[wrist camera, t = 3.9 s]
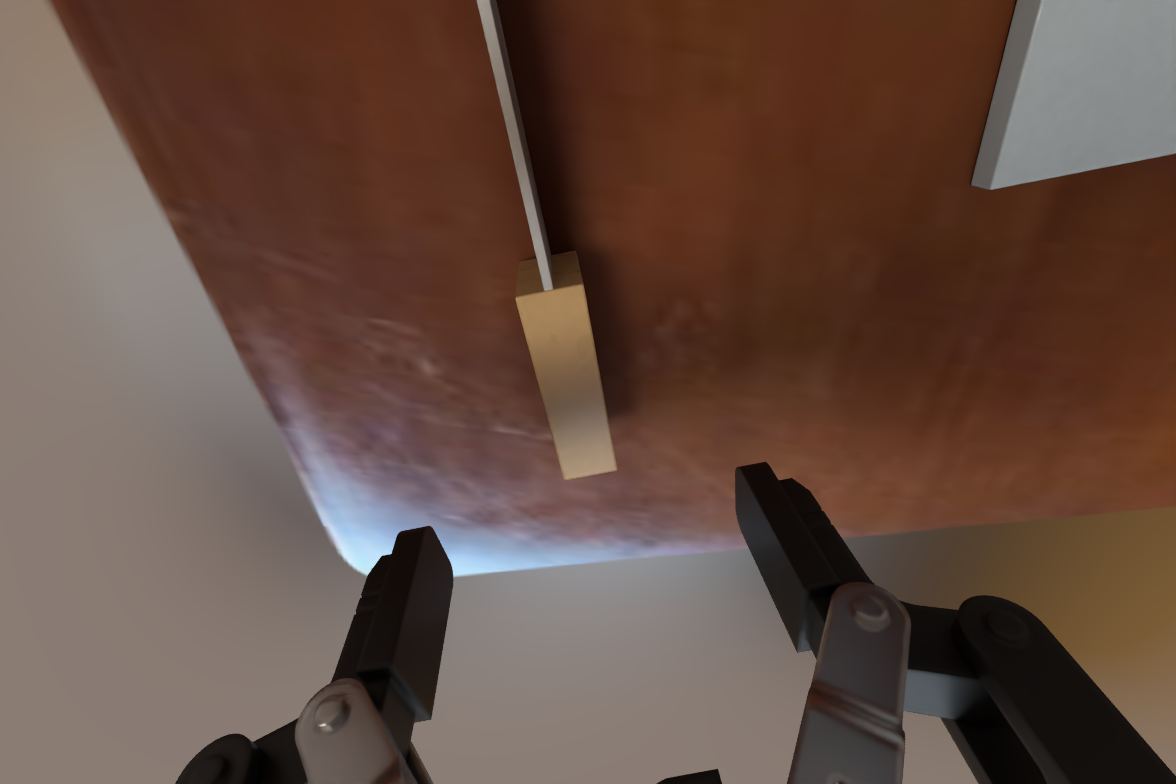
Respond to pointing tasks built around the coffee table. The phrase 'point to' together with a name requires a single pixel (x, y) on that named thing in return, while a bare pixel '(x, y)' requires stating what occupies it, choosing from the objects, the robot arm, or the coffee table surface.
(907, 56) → the coffee table surface
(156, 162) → the coffee table surface
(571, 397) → the knife
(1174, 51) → the light grey flat board
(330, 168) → the coffee table surface
